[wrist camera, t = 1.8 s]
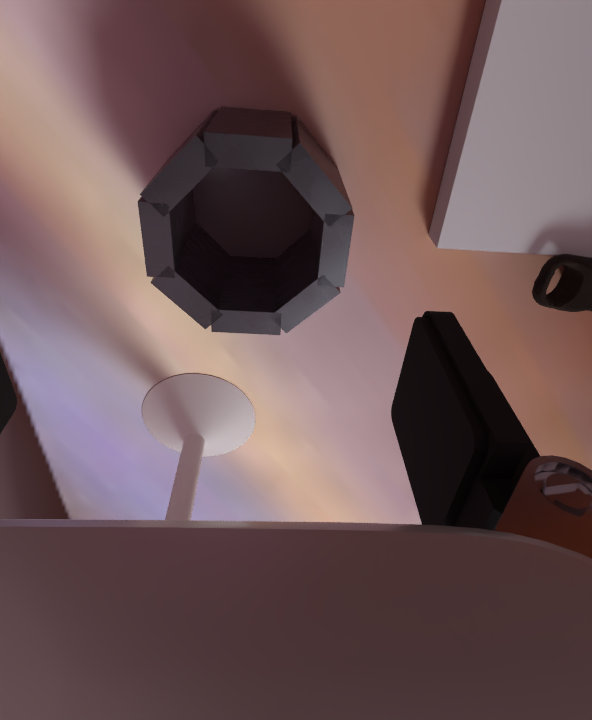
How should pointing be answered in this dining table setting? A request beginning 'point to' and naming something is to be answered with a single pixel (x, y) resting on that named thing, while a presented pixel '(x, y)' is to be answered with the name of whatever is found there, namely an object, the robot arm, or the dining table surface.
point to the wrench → (566, 284)
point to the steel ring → (246, 274)
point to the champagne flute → (196, 428)
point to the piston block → (523, 135)
